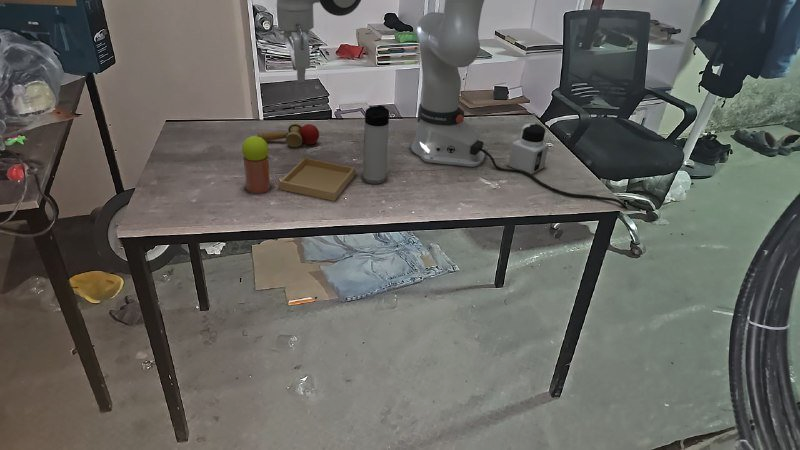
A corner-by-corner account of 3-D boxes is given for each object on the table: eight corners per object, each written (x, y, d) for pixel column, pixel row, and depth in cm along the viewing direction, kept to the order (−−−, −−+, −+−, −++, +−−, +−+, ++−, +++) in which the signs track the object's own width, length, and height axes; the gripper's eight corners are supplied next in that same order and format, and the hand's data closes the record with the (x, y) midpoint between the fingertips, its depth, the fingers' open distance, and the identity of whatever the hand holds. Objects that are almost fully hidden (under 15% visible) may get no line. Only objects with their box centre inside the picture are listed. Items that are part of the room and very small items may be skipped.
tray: (355, 175, 155) (355, 167, 154) (334, 201, 143) (334, 192, 141) (304, 165, 158) (304, 157, 157) (279, 189, 146) (279, 181, 145)
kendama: (258, 152, 166) (319, 146, 166) (254, 131, 163) (316, 125, 164) (262, 145, 173) (321, 139, 173) (259, 125, 171) (318, 119, 171)
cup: (274, 184, 148) (272, 153, 143) (263, 195, 143) (260, 163, 138) (253, 180, 149) (251, 149, 144) (242, 190, 144) (239, 159, 139)
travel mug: (389, 175, 156) (393, 107, 145) (380, 186, 151) (384, 116, 140) (368, 171, 158) (370, 103, 147) (359, 181, 152) (361, 111, 142)
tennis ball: (273, 157, 144) (272, 134, 140) (261, 168, 138) (259, 144, 135) (251, 153, 145) (249, 130, 141) (238, 163, 140) (235, 140, 136)
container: (543, 167, 167) (553, 127, 160) (530, 175, 162) (539, 134, 155) (521, 158, 171) (530, 118, 164) (507, 166, 166) (515, 125, 159)
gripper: (315, 30, 130) (317, 88, 138) (302, 10, 146) (304, 62, 154) (287, 31, 128) (291, 89, 136) (277, 10, 145) (281, 63, 152)
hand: (298, 75), depth 145 cm, fingers open, 8 cm apart
